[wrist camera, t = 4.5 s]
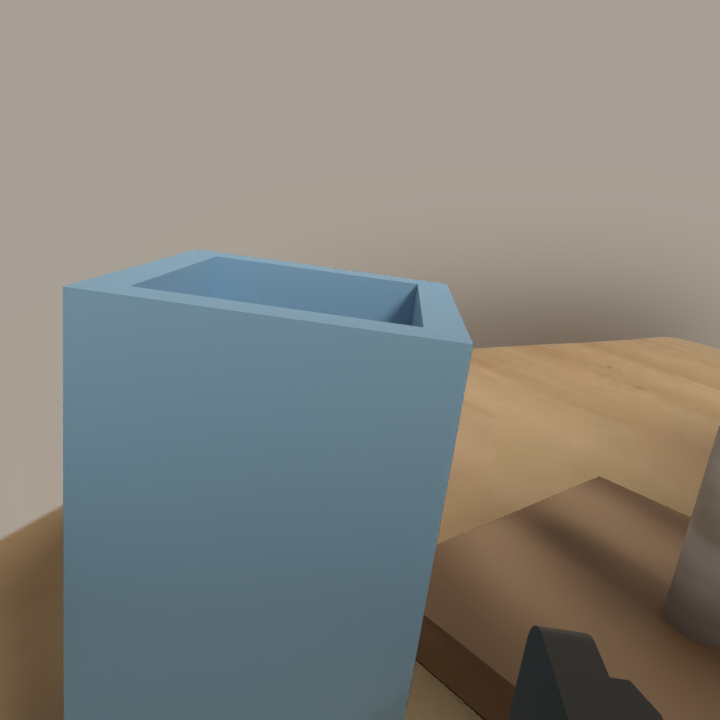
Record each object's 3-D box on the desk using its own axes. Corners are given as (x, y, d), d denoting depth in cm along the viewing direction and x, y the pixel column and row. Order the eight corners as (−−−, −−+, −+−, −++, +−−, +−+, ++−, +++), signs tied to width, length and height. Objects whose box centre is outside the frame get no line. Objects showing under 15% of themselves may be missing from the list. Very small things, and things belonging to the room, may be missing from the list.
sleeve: (172, 682, 16) (196, 249, 13) (374, 715, 16) (446, 284, 13) (63, 911, 11) (62, 286, 8) (360, 962, 11) (472, 344, 8)
